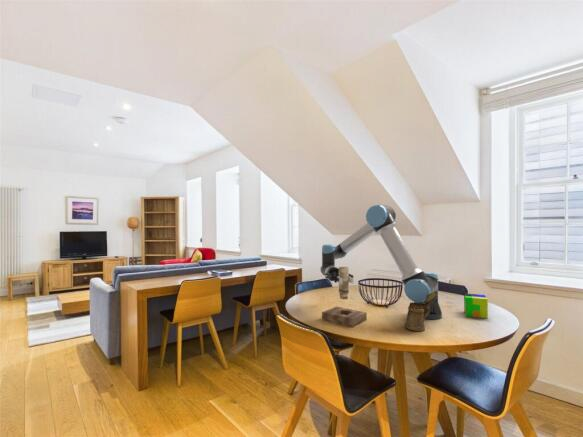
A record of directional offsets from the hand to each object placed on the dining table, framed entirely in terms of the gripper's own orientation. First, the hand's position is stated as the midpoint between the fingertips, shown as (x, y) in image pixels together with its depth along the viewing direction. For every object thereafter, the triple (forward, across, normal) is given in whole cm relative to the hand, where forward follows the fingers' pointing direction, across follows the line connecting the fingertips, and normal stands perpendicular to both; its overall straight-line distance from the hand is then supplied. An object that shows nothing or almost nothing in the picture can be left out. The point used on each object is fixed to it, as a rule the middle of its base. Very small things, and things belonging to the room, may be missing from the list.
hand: (347, 280), depth 157 cm
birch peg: (-5, 0, -10) cm, 11 cm away
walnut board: (-5, 0, -21) cm, 22 cm away
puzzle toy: (-1, -73, -21) cm, 76 cm away
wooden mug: (+14, -30, -21) cm, 39 cm away
